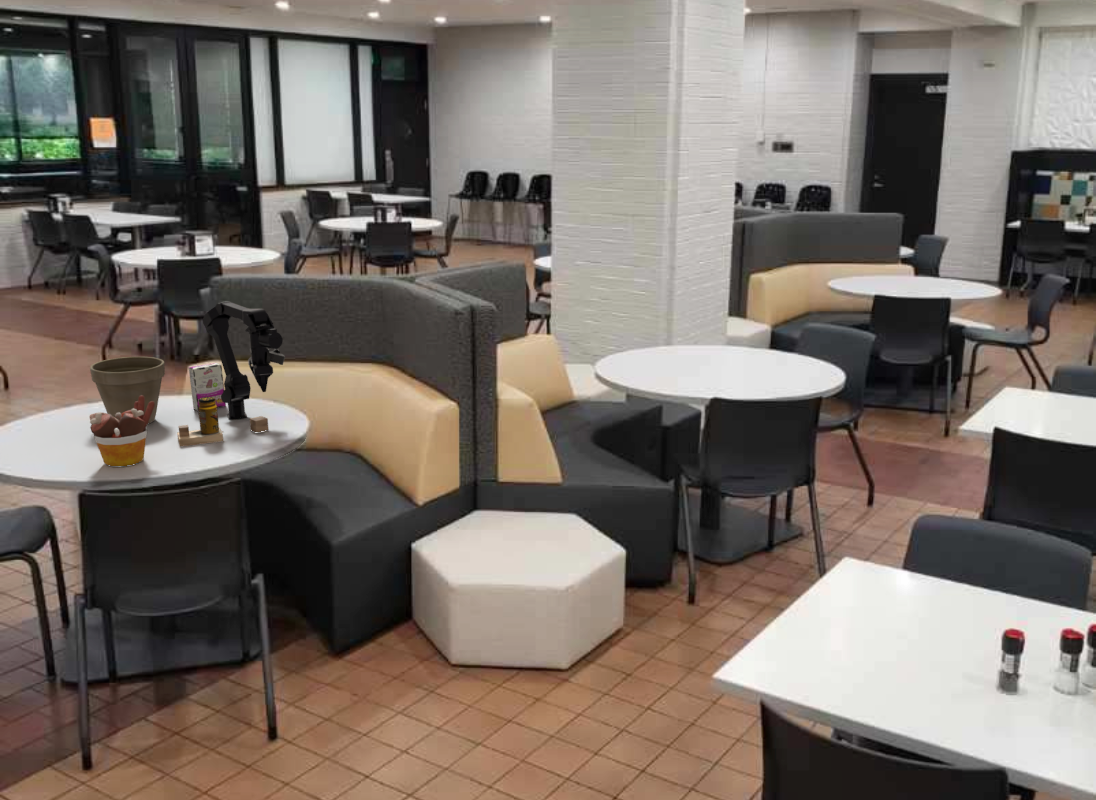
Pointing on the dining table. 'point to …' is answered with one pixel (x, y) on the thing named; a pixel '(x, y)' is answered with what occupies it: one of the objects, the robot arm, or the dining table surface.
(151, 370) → the plant pot
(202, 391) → the candy bar box
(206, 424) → the condiment
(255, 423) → the block
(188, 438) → the foundation
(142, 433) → the bucket of meat
